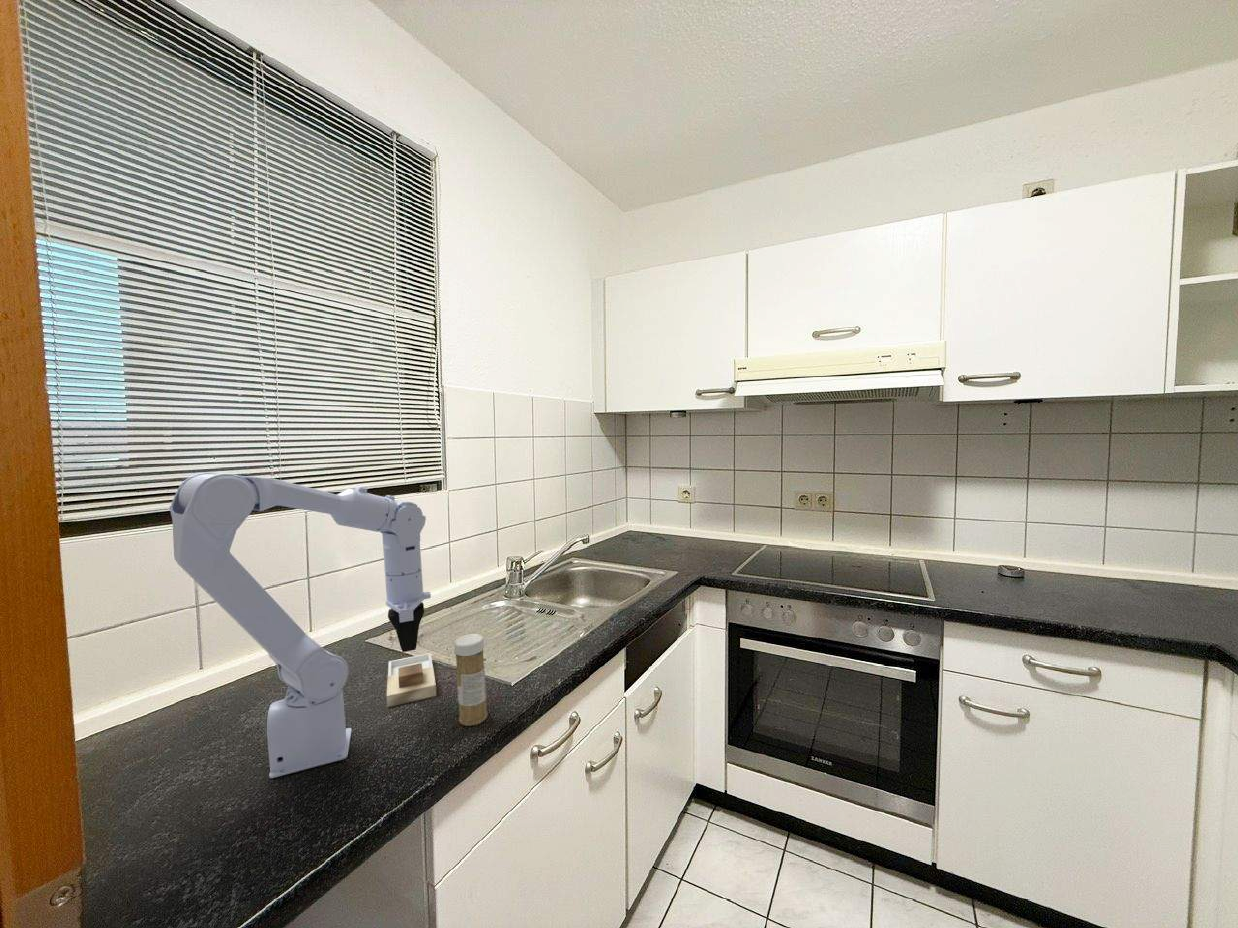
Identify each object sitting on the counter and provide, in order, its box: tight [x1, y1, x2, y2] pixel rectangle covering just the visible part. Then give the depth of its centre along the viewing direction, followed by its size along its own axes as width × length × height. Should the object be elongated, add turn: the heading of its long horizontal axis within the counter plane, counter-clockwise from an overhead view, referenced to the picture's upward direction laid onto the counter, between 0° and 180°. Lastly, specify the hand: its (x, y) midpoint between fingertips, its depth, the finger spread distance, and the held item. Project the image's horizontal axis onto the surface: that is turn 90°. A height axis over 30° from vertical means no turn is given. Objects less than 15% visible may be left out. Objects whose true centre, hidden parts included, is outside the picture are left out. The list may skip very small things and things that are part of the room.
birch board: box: [386, 666, 437, 708], centre depth 91 cm, size 8×8×2 cm
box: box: [387, 652, 434, 677], centre depth 98 cm, size 8×8×2 cm
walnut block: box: [398, 663, 423, 688], centre depth 90 cm, size 4×4×2 cm
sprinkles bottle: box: [453, 633, 488, 727], centre depth 80 cm, size 5×5×14 cm
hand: (409, 649), depth 85 cm, fingers closed
